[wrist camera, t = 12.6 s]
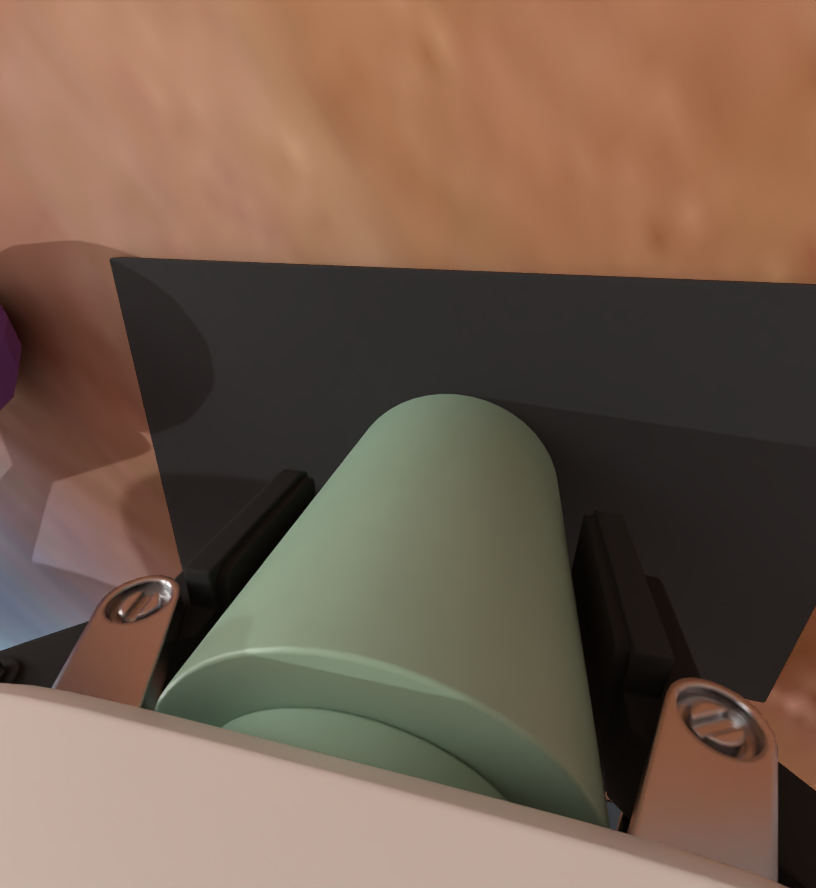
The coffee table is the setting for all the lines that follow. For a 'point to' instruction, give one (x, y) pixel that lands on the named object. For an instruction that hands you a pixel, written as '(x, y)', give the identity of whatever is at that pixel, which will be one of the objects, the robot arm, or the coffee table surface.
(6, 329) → the kendama
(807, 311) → the mat
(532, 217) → the coffee table surface
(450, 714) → the detergent bottle
